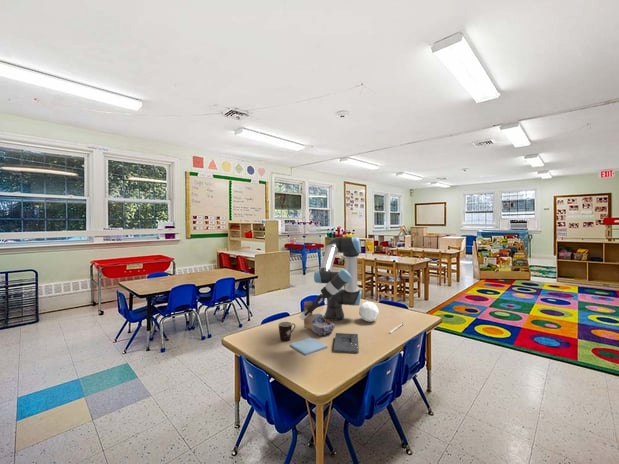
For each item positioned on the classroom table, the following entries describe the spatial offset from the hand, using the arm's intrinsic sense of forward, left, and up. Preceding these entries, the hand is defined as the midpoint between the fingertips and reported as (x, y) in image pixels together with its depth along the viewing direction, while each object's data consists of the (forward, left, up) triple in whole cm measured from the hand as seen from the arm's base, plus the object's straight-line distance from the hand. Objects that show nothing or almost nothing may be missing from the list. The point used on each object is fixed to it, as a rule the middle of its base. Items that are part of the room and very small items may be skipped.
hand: (302, 317), depth 173 cm
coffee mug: (+1, -15, -18) cm, 23 cm away
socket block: (-23, +14, -18) cm, 33 cm away
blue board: (-3, +2, -18) cm, 18 cm away
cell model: (-24, -12, -18) cm, 32 cm away
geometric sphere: (-66, -6, -18) cm, 69 cm away
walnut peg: (-3, +3, -6) cm, 7 cm away
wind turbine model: (-73, +14, -19) cm, 76 cm away
